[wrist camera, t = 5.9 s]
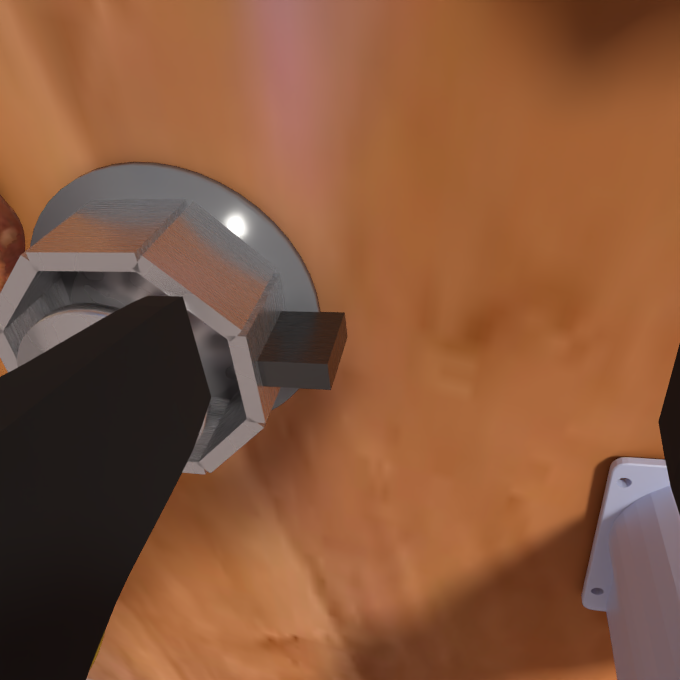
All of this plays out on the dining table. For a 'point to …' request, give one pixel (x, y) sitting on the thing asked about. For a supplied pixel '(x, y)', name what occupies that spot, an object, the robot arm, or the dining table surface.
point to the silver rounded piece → (109, 296)
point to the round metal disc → (196, 187)
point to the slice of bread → (9, 241)
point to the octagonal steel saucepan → (200, 299)
